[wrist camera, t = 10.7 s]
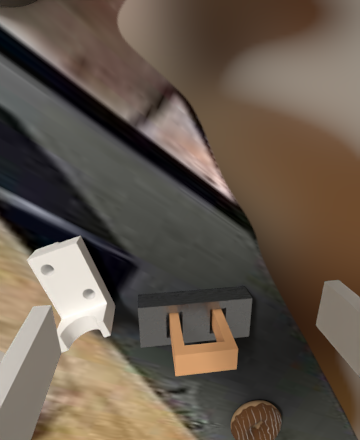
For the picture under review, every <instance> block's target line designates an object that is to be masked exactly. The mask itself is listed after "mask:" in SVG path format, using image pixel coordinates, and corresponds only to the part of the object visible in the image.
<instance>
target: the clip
mask: <svg viewBox="0 0 360 440" xmlns="http://www.w3.org/2000/svg"><path fill="white" fill-rule="evenodd" d="M210 323H211V326H212V328H213V331H214V334H215V337H216V340H217V342H215V343H205V344H196V345H186V346H184V341H183V336H182V331H181V325H180V320H179V314H178V312H177V313H169V328H170V336H171V344H172V352H173V360H174V368H175V376H181V375H190V374H198V373H207V372H216V371H224V370H233V369H237V357H238V347H237V345H236V343H235V340H234V338H233V336H232V333H231V331H230V328H229V326H228V324H227V321H226V319H225V317H224V314H223V312H222V310H221V309H211V310H210Z"/></svg>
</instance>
